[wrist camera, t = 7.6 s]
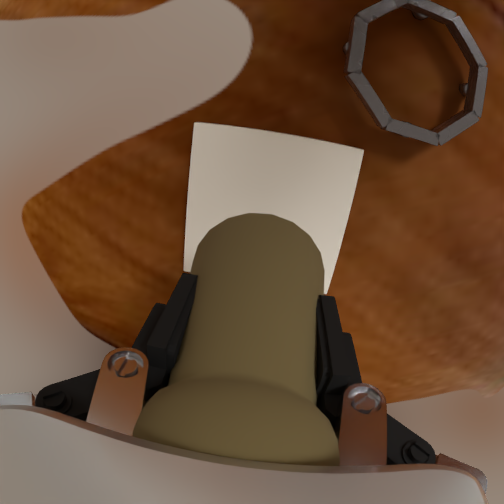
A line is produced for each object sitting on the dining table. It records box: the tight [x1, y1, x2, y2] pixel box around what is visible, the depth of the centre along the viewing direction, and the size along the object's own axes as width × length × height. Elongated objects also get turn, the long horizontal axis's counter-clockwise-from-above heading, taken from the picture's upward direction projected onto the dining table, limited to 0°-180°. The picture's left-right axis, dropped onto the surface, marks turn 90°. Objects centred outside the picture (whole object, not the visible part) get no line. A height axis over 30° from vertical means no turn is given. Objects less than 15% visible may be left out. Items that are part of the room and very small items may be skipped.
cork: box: [132, 213, 340, 466], centre depth 10 cm, size 6×6×11 cm
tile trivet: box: [184, 122, 364, 294], centre depth 22 cm, size 11×11×1 cm
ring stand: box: [343, 0, 488, 146], centre depth 16 cm, size 10×10×2 cm
